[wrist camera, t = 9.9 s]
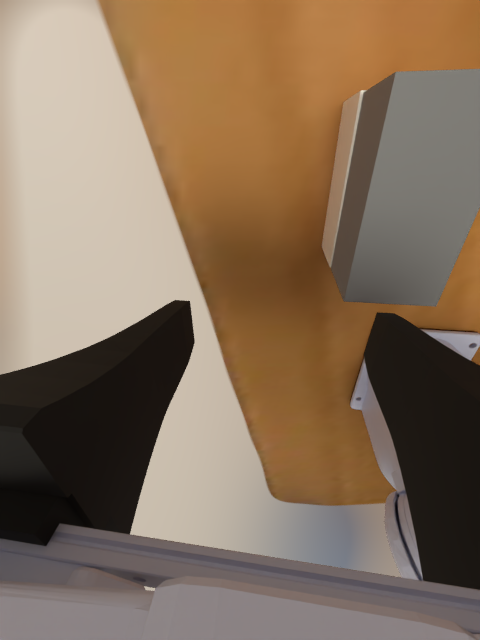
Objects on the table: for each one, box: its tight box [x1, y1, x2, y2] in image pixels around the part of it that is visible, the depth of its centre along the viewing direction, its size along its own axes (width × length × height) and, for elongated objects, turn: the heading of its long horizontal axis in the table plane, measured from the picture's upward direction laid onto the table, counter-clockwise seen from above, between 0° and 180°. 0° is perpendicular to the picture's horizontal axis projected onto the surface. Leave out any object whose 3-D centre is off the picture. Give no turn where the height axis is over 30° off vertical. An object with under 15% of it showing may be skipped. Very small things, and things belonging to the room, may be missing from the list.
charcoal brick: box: [331, 69, 480, 306], centre depth 12 cm, size 8×4×4 cm, turn 0°
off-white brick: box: [322, 90, 367, 267], centre depth 15 cm, size 8×4×4 cm, turn 1°
